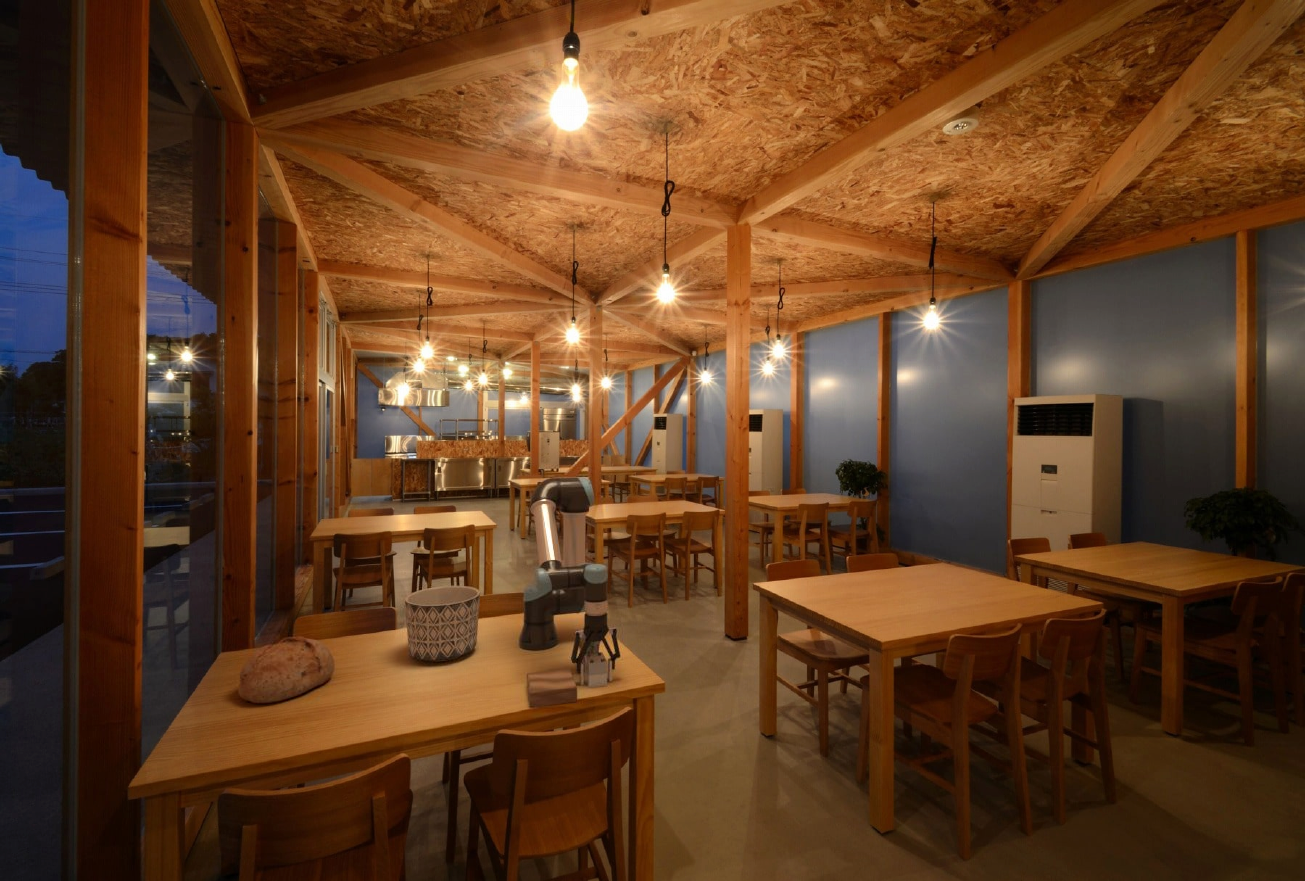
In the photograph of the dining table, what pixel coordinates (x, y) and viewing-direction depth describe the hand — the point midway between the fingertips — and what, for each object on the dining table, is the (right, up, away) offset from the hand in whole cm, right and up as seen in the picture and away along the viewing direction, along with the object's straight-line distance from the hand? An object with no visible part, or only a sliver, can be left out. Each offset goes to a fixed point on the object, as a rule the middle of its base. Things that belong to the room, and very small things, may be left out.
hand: (595, 681), depth 182 cm
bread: (-99, 0, -4) cm, 99 cm away
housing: (0, 0, 0) cm, 0 cm away
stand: (-13, 0, -8) cm, 16 cm away
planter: (-59, 0, +23) cm, 64 cm away
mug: (-4, 0, +14) cm, 14 cm away
